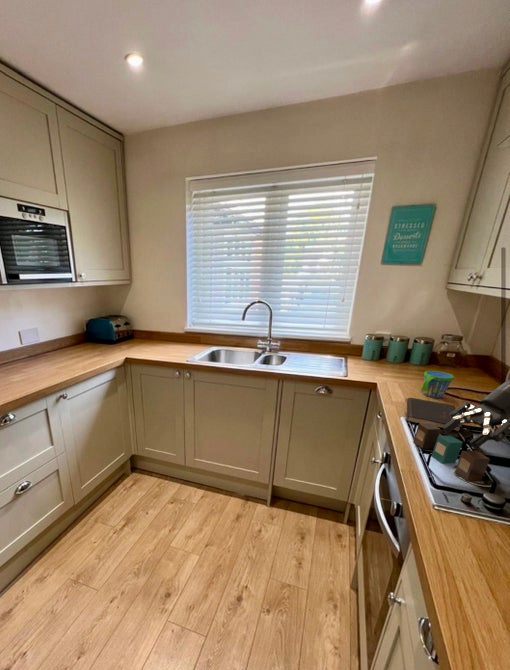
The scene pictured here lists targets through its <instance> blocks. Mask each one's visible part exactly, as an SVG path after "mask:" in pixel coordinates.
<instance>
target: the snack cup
mask: <svg viewBox="0 0 510 670" xmlns="http://www.w3.org/2000/svg"><path fill="white" fill-rule="evenodd" d="M423 376H424V378H423V384H422V385H421V390H422V394H423V395H424V396H425V397H429V398H433V399H442V398H444V396H445V394H446V393H447V390H448V388H449V386H450V385H451V383H452V381H453V380H454V379H455V376H454V375H453V374H451V373H448V372H444V371H439V370H426V371H425V372H424V373H423Z"/></svg>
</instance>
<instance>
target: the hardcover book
mask: <svg viewBox="0 0 510 670" xmlns="http://www.w3.org/2000/svg"><path fill="white" fill-rule="evenodd" d="M456 408H457V407H456V405H455V404H449V403H444V402H438V401H432V400H428V399H427V400H426V399H421V398H415V397H408V398H407V401H406V421H407V422H408V421H412V422H417V423H431V424H433V425H435V426H436V427H441V428H444V426H445V425H446V424H447V423H448V422H450V421H451V420H452V418H451V416H450V415H449V414H450V413H451V412H452V411H453V410H455V409H456ZM457 414H458V413H457ZM457 414H456V415H457ZM459 420H461V419H459ZM462 425H463V424H459V426H458V427H456V428H455V429H454V430H456V431H459V430H460V431H461V428H463V426H462Z"/></svg>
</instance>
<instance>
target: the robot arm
mask: <svg viewBox="0 0 510 670" xmlns="http://www.w3.org/2000/svg"><path fill="white" fill-rule="evenodd" d="M455 408H456V409H455V410H453V411H452V412H451V413H450V414H449V415H450V416H451V418H452V420H451V421H450V422H448V423H447V424H446V425H445V426H444V428H443V429H442V431H444V433H445V434H450V433H451V432H453V431H452V430H454V429H455V428H456V427H458V426H459V424H461V425H463V424H474V425H476V426H479V427H480V428H482V433H479V434H478V435H477V436H475V437H474V438H472V439H471V440H470V441H469V442H468V444H469V446H470V447H471V448H473V449H477V448H479V447H481V446H482V445H484V444H485V443H487V442H488V441H495V442H497V443H499V442H501V441H502V440H503V439H505V438H506V437H507V436H508V435H509V434H510V379H508V380H506V381H504V382H503V383H501V384H500V385H499V386H498V387H496V388H495V389H494V390H492V391H491V392H490V393H489V394H487V395H486V396H485V397H483V398H482V399H481V401H480V403H479V404H477V405H472V404H471V403H470V402H469V401H465V402H463V403H462V404H460V405H459V406H458V407H455ZM457 413H458V414H457ZM456 414H457V415H456ZM459 419H460V420H459ZM497 426H499V427H498V428H496V427H497Z"/></svg>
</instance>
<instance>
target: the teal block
mask: <svg viewBox="0 0 510 670" xmlns="http://www.w3.org/2000/svg"><path fill="white" fill-rule="evenodd" d="M462 446H463V441H461V440H460V439H458V438H457V437H454V436H452V435H439V436H438V438H437V441H436V444H435V447H434V449H432V450H433V451H432V454H431V458H433V459H434V460H436V461H437V462H438V463H440V464H442V465H451V464H456V463H457V460H458V458H459V455H460V452H461V449H462Z"/></svg>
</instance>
